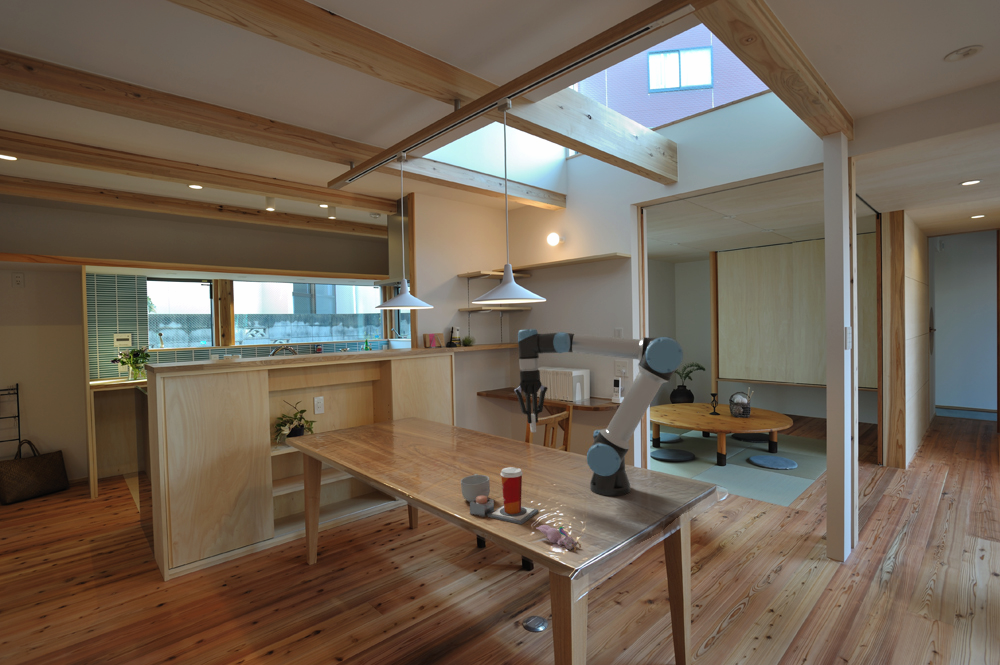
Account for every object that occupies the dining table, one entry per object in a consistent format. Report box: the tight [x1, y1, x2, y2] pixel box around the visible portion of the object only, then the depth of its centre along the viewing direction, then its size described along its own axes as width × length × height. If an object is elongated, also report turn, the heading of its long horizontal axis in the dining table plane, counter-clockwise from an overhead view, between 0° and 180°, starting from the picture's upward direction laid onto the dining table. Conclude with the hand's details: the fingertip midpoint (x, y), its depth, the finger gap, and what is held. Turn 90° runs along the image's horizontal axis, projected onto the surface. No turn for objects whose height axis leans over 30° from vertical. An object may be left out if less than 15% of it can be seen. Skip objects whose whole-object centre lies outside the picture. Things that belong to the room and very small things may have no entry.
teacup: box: [459, 473, 491, 503], centre depth 177 cm, size 14×11×8 cm
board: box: [487, 504, 539, 525], centre depth 161 cm, size 13×12×1 cm
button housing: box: [469, 497, 495, 518], centre depth 164 cm, size 6×6×4 cm
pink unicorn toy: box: [535, 524, 582, 553], centre depth 139 cm, size 6×6×15 cm
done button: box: [476, 496, 488, 504], centre depth 164 cm, size 4×4×3 cm
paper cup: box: [499, 466, 524, 514], centre depth 161 cm, size 8×8×14 cm
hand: (533, 431), depth 179 cm, fingers closed
